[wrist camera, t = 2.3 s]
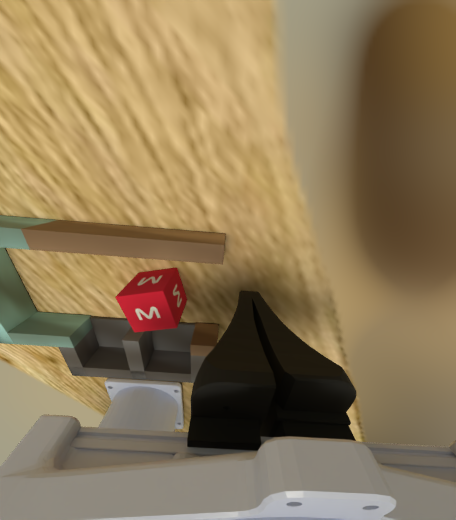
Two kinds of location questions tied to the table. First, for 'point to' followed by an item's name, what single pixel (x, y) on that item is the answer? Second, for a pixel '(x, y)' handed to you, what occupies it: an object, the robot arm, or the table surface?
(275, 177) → the table surface
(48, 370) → the table surface
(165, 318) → the red letter block
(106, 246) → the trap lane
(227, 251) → the table surface
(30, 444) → the robot arm
